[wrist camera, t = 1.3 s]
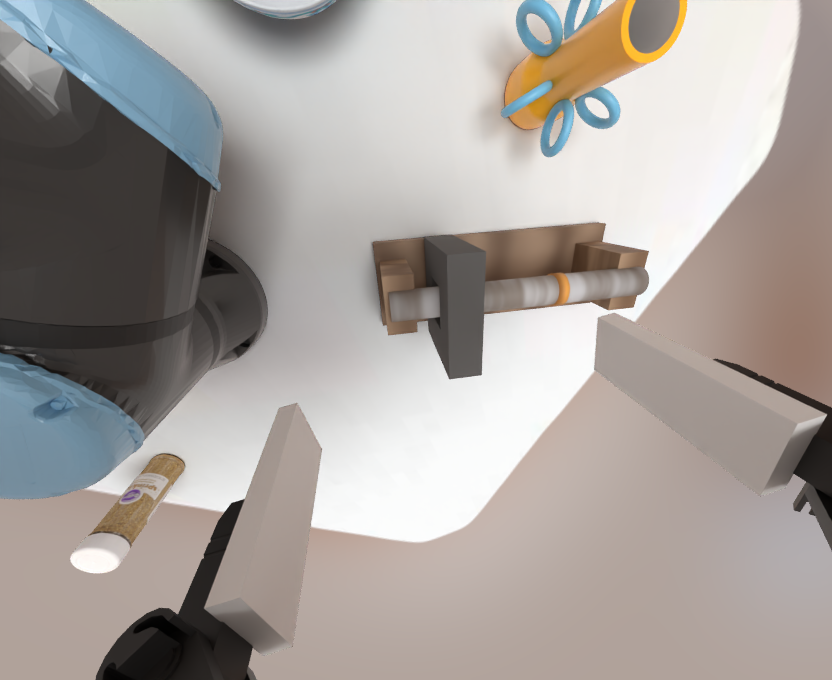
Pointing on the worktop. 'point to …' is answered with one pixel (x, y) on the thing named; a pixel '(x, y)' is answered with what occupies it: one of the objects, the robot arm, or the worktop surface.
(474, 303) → the collar
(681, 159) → the worktop surface
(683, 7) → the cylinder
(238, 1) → the chinaware
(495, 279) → the pipe stand
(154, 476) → the sprinkles bottle
